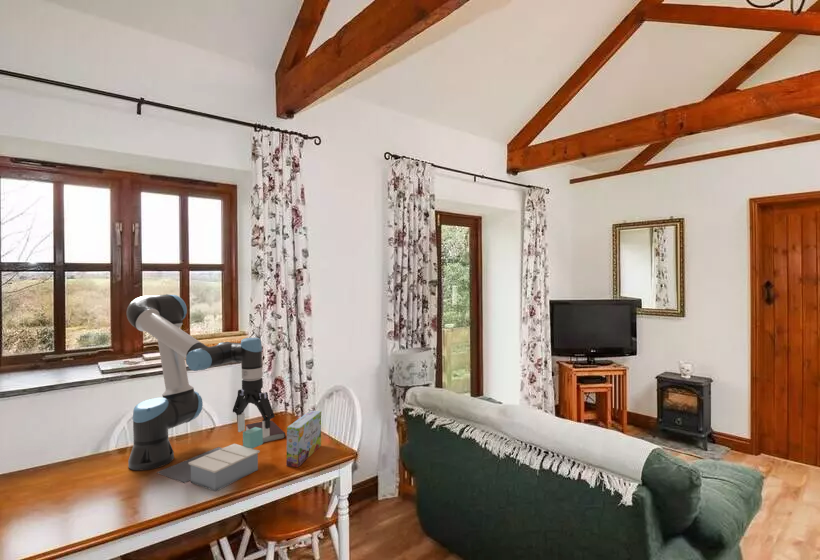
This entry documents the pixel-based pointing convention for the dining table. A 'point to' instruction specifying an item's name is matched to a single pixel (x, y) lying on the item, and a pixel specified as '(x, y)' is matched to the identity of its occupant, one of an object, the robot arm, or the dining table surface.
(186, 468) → the mat
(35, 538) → the dining table surface
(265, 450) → the dining table surface
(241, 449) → the lid
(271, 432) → the book
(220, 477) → the tub
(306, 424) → the snack box
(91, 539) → the dining table surface
